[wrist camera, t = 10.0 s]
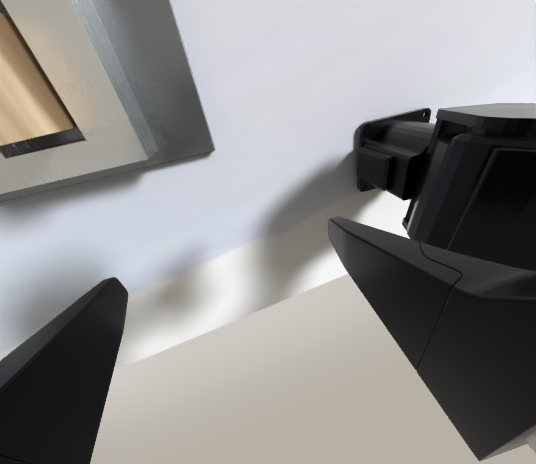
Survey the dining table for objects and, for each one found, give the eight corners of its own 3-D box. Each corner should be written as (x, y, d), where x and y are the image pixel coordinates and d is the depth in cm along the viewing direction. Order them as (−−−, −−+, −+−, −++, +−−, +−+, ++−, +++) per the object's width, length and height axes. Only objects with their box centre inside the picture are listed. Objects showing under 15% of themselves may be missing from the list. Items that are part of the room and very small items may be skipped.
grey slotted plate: (142, -89, 11) (112, -165, 8) (215, 147, 18) (214, 160, 15) (-247, -28, 10) (-470, -86, 7) (-15, 202, 17) (-72, 228, 14)
